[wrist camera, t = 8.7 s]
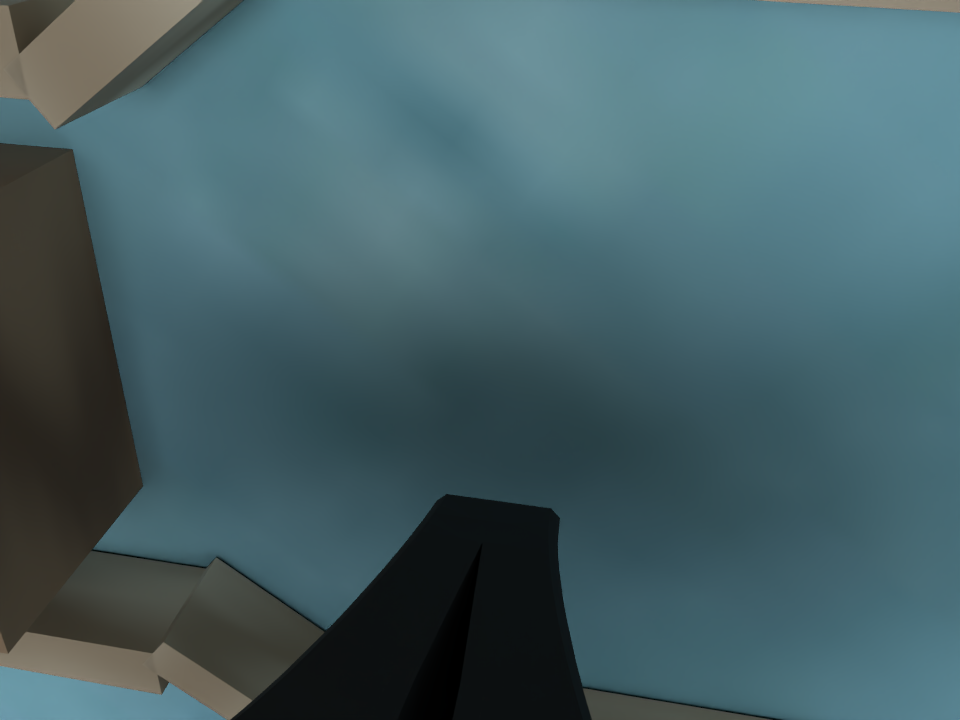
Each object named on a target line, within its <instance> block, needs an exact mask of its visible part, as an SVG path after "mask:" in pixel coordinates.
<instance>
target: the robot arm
mask: <svg viewBox="0 0 960 720" xmlns="http://www.w3.org/2000/svg"><path fill="white" fill-rule="evenodd" d="M559 522H560V518H559V517H558V516H557V515H556V513H555V512H554V511H553V510H552V509H551V508H544V507H536V506H529V505H522V504H515V503H508V502H500V501H493V500H486V499H479V498H471V497H464V496H457V495H450V494H446V495H445V496H443V497H442V498H440V499H439V500H437V501H436V503H435V504H434V506H433V507H432V508H431V510H430V511H429V513H428V514H427V515H426V517H425V518H424V519H423V521H422V522H421V523H420V524H419V526H418V527H417V528H416V530H415V531H414V532H413V534H412V535H411V536H410V537H409V539H408V540H407V541H406V542H405V544H404V545H403V546H402V547H401V548H400V550H399V551H398V552H397V553H396V554H395V556H394V557H393V558H392V559H391V560H390V562H389V563H388V564H387V565H386V566H385V568H384V569H383V570H382V571H381V572H380V573H379V574H378V576H377V577H376V578H375V579H374V580H373V581H372V582H371V583H370V584H369V585H368V587H367V588H366V589H365V590H364V591H363V592H362V593H361V594H360V595H359V597H358V598H357V599H356V600H355V601H354V602H353V603H352V604H351V605H350V606H349V608H348V609H347V610H346V611H345V612H344V613H343V614H342V615H341V616H340V617H339V618H338V619H337V620H336V621H335V622H334V624H333V625H332V626H331V627H330V628H329V629H328V630H326V631H325V632H324V633H323V634H322V635H321V636H320V637H319V638H318V639H317V640H316V641H315V642H314V643H313V644H312V645H311V646H310V647H309V648H308V649H307V650H306V651H305V652H304V653H303V654H302V655H301V656H300V657H299V658H298V659H297V660H296V661H295V662H294V663H293V664H292V665H291V666H290V667H289V668H288V669H287V670H286V671H285V672H284V673H283V674H282V675H280V676H279V677H278V678H277V679H276V680H275V681H274V682H273V683H272V684H271V685H269V686H268V687H267V688H266V689H265V690H264V691H263V692H262V693H261V694H260V695H258V696H257V697H256V698H255V699H254V700H253V701H252V702H250V703H249V704H248V705H247V706H246V707H245V708H244V709H242V710H241V711H240V712H239V713H238V714H236V715H235V716H234V717H233V718H232V719H230V720H592V718H591V715H590V711H589V708H588V705H587V701H586V698H585V694H584V691H583V687H582V683H581V679H580V676H579V672H578V668H577V664H576V660H575V655H574V650H573V646H572V641H571V637H570V632H569V628H568V623H567V619H566V613H565V608H564V602H563V596H562V588H561V581H560V573H559V562H558V533H559Z"/></svg>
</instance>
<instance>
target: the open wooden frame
mask: <svg viewBox="0 0 960 720" xmlns="http://www.w3.org/2000/svg"><path fill="white" fill-rule="evenodd" d="M242 1H243V0H0V97H4V98H16V99H28V100H30V101H31V102H32V103H33V105H34V106H35V107H36V108H37V109H38V110H39V112H40V113H41V114H42V115H43V116H44V117H45V119H46V120H47V121H48V122H49V123H50V124H51V126H52V127H53V128H54V129H57V128H59V127H61V126H63V125H65V124H67V123H69V122H71V121H73V120H75V119H77V118H79V117H81V116H84V115H86V114H88V113H90V112H92V111H94V110H96V109H98V108H100V107H102V106H104V105H106V104H108V103H110V102H112V101H114V100H116V99H118V98H120V97H122V96H124V95H126V94H128V93H130V92H132V91H134V90H136V89H138V88H140V87H142V86H143V85H144V84H146V83H147V82H148V81H149V80H150V79H152V78H153V77H154V76H155V75H156V74H157V73H159V72H160V71H161V70H162V69H163V68H164V67H166V66H167V65H168V64H169V63H170V62H172V61H173V60H174V59H175V58H176V57H177V56H179V55H180V54H181V53H182V52H183V51H184V50H186V49H187V48H188V47H189V46H190V45H192V44H193V43H194V42H195V41H196V40H197V39H199V38H200V37H201V36H202V35H203V34H204V33H206V32H207V31H208V30H209V29H210V28H212V27H213V26H214V25H215V24H216V23H217V22H219V21H220V20H221V19H222V18H223V17H225V16H226V15H227V14H228V13H229V12H230V11H232V10H233V9H234V8H235V7H236V6H237V5H239V4H240V3H241V2H242ZM759 1H775V2H792V3H809V4H826V5H842V6H859V7H876V8H893V9H909V10H926V11H943V12H959V13H960V0H759ZM323 633H324V631H322V630H321V629H320V628H318V627H317V626H315V625H314V624H312V623H311V622H309V621H308V620H306V619H305V618H304V617H302V616H301V615H299V614H298V613H296V612H295V611H293V610H292V609H290V608H289V607H288V606H286V605H285V604H283V603H282V602H280V601H279V600H277V599H276V598H274V597H273V596H272V595H270V594H269V593H267V592H266V591H264V590H263V589H261V588H260V587H258V586H257V585H256V584H254V583H253V582H251V581H250V580H248V579H247V578H245V577H244V576H242V575H241V574H240V573H238V572H237V571H235V570H234V569H232V568H231V567H229V566H228V565H226V564H225V563H224V562H222V561H221V560H219V559H218V558H215V559H214V560H213V562H212V563H211V564H210V565H209V566H208V567H207V568H206V569H204V568H198V567H192V566H185V565H179V564H172V563H166V562H160V561H153V560H147V559H141V558H134V557H128V556H122V555H115V554H109V553H102V552H96V551H90V553H89V554H88V555H87V556H86V558H85V559H84V560H83V561H82V563H81V564H80V565H79V566H78V568H77V569H76V570H75V571H74V573H73V574H72V575H71V576H70V578H69V579H68V580H67V581H66V583H65V584H64V585H63V586H62V588H61V589H60V590H59V591H58V593H57V594H56V595H55V596H54V598H53V599H52V600H51V601H50V603H49V604H48V605H47V606H46V608H45V609H44V610H43V611H42V613H41V614H40V615H39V616H38V617H37V619H36V620H35V621H34V622H33V624H32V625H31V626H30V627H29V629H28V630H27V631H26V632H25V634H24V635H23V636H22V637H21V639H20V640H19V641H18V642H17V644H16V645H15V646H14V647H13V649H12V650H11V651H10V652H9V654H5V653H0V666H4V667H10V668H15V669H21V670H27V671H32V672H38V673H43V674H49V675H54V676H60V677H66V678H71V679H77V680H82V681H88V682H94V683H99V684H105V685H110V686H116V687H122V688H127V689H133V690H138V691H144V692H150V693H155V694H161V695H162V693H163V692H164V690H165V688H166V687H167V685H168V683H169V682H170V683H171V684H173V685H174V686H176V687H178V688H179V689H181V690H182V691H184V692H185V693H187V694H188V695H190V696H191V697H193V698H195V699H196V700H198V701H199V702H201V703H202V704H204V705H205V706H207V707H208V708H210V709H212V710H213V711H215V712H216V713H218V714H219V715H221V716H222V717H224V718H225V719H227V720H230V719H232V718H233V717H234V716H235V715H236V714H238V713H239V712H240V711H241V710H242V709H244V708H245V707H246V706H247V705H248V704H249V703H250V702H252V701H253V700H254V699H255V698H256V697H257V696H258V695H260V694H261V693H262V692H263V691H264V690H265V689H266V688H267V687H268V686H269V685H271V684H272V683H273V682H274V681H275V680H276V679H277V678H278V677H279V676H280V675H282V674H283V673H284V672H285V671H286V670H287V669H288V668H289V667H290V666H291V665H292V664H293V663H294V662H295V661H296V660H297V659H298V658H299V657H300V656H301V655H302V654H303V653H304V652H305V651H306V650H307V649H308V648H309V647H310V646H311V645H312V644H313V643H314V642H315V641H316V640H317V639H318V638H319V637H320V636H321V635H322V634H323ZM583 691H584V694H585V698H586V701H587V705H588V708H589V711H590V715H591V718H592V720H771V719H765V718H759V717H753V716H747V715H741V714H735V713H729V712H723V711H717V710H711V709H705V708H699V707H693V706H687V705H681V704H675V703H669V702H662V701H656V700H650V699H644V698H638V697H632V696H626V695H620V694H614V693H608V692H602V691H596V690H590V689H584V688H583Z"/></svg>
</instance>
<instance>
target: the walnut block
mask: <svg viewBox="0 0 960 720" xmlns="http://www.w3.org/2000/svg"><path fill="white" fill-rule="evenodd" d="M142 487H143V483H142V478H141V474H140V469H139V464H138V459H137V455H136V450H135V445H134V440H133V435H132V431H131V426H130V421H129V416H128V412H127V407H126V402H125V397H124V393H123V388H122V383H121V378H120V374H119V369H118V364H117V359H116V354H115V350H114V345H113V340H112V335H111V331H110V326H109V321H108V316H107V312H106V307H105V302H104V297H103V293H102V288H101V283H100V278H99V273H98V269H97V264H96V259H95V254H94V250H93V245H92V240H91V235H90V231H89V226H88V221H87V216H86V212H85V207H84V202H83V197H82V192H81V188H80V183H79V178H78V173H77V169H76V164H75V159H74V154H73V150H72V149H62V148H51V147H39V146H27V145H15V144H3V143H0V653H5V654H9V652H10V651H11V650H12V649H13V647H14V646H15V645H16V644H17V642H18V641H19V640H20V639H21V637H22V636H23V635H24V634H25V632H26V631H27V630H28V629H29V627H30V626H31V625H32V624H33V622H34V621H35V620H36V619H37V617H38V616H39V615H40V614H41V613H42V611H43V610H44V609H45V608H46V606H47V605H48V604H49V603H50V601H51V600H52V599H53V598H54V596H55V595H56V594H57V593H58V591H59V590H60V589H61V588H62V586H63V585H64V584H65V583H66V581H67V580H68V579H69V578H70V576H71V575H72V574H73V573H74V571H75V570H76V569H77V568H78V566H79V565H80V564H81V563H82V561H83V560H84V559H85V558H86V556H87V555H88V554H89V553H90V551H91V550H92V549H93V548H94V546H95V545H96V544H97V543H98V541H99V540H100V539H101V538H102V537H103V535H104V534H105V533H106V532H107V530H108V529H109V528H110V527H111V525H112V524H113V523H114V522H115V520H116V519H117V518H118V517H119V515H120V514H121V513H122V512H123V510H124V509H125V508H126V507H127V505H128V504H129V503H130V502H131V500H132V499H133V498H134V497H135V495H136V494H137V493H138V492H139V490H140V489H141V488H142Z"/></svg>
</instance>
